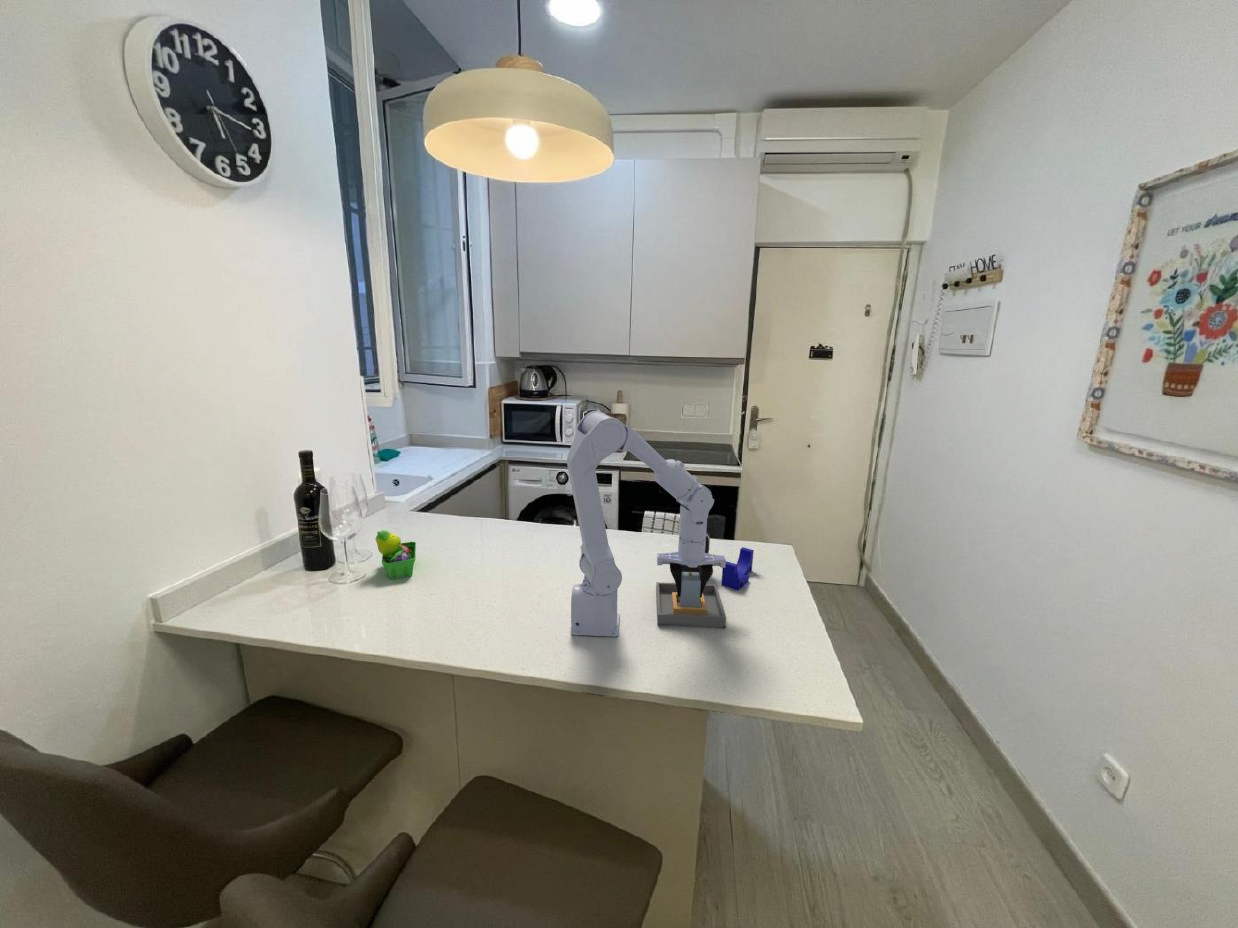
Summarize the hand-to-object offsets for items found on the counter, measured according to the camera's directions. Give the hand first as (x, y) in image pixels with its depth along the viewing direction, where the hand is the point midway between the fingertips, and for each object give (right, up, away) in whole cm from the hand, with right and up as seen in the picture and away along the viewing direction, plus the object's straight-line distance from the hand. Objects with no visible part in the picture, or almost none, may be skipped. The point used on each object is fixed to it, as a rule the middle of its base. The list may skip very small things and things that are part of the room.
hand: (689, 594), depth 108 cm
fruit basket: (-71, +2, +17) cm, 73 cm away
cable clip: (+15, 0, +15) cm, 21 cm away
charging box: (0, -3, +1) cm, 3 cm away
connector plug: (0, -2, 0) cm, 2 cm away
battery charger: (+4, +1, +18) cm, 19 cm away
